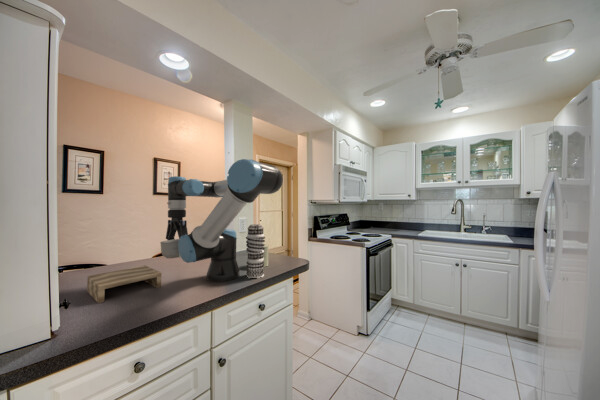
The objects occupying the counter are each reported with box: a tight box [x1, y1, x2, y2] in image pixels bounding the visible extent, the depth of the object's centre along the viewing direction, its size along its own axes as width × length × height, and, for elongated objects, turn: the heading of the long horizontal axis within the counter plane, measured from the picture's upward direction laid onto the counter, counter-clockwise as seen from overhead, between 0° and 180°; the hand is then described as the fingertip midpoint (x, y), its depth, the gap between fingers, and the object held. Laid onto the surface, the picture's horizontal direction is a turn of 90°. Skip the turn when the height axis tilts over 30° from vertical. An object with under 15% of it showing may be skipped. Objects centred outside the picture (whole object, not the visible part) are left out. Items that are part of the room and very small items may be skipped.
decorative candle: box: [245, 223, 266, 279], centre depth 109 cm, size 9×9×25 cm
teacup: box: [159, 238, 179, 259], centre depth 106 cm, size 14×11×8 cm
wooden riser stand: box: [86, 265, 162, 304], centre depth 91 cm, size 18×20×6 cm
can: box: [263, 244, 269, 268], centre depth 127 cm, size 9×9×12 cm
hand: (176, 255), depth 105 cm, fingers closed on teacup, 11 cm apart
